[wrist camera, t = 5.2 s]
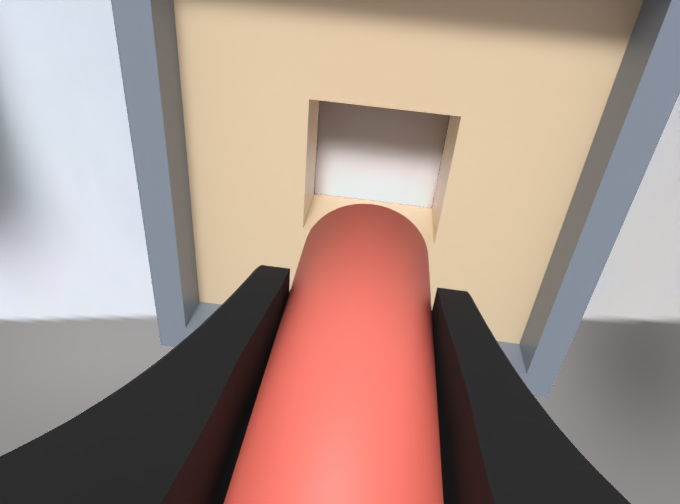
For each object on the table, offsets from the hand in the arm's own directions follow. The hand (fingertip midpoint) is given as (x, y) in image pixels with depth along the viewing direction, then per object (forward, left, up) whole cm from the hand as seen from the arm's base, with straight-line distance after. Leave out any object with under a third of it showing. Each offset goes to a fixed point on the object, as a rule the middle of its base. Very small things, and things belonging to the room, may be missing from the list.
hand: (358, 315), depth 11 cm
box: (0, 0, -9) cm, 9 cm away
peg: (0, 0, -2) cm, 2 cm away
